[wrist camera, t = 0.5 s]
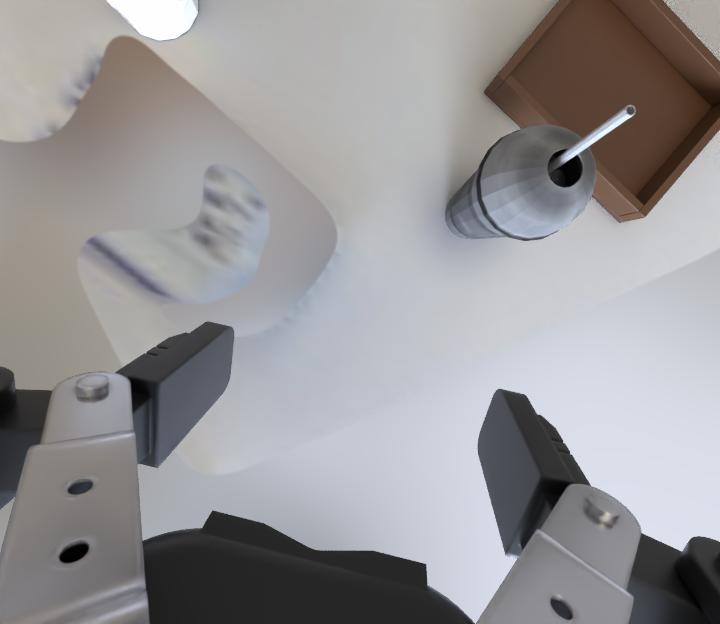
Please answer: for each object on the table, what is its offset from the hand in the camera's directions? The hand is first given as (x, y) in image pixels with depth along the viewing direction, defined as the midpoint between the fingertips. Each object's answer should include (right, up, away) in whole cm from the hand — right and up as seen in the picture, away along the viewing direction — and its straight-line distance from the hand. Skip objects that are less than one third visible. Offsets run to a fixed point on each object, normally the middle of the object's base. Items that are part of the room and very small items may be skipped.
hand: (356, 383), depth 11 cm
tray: (+23, +23, +25) cm, 41 cm away
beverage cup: (+10, +12, +25) cm, 30 cm away
